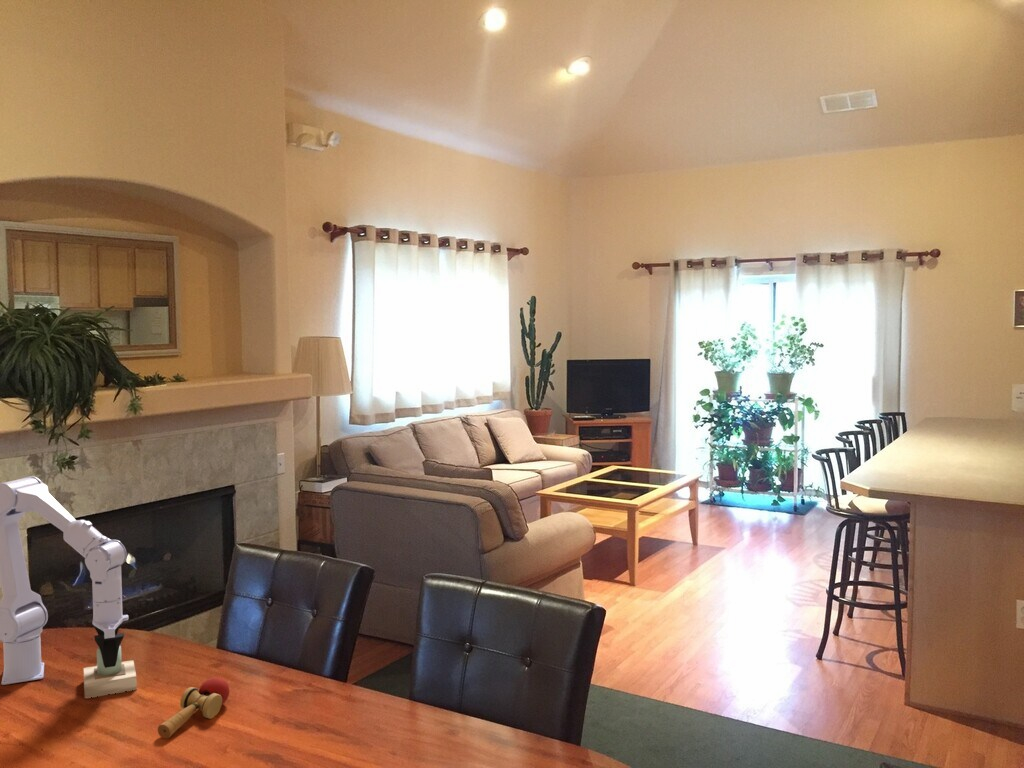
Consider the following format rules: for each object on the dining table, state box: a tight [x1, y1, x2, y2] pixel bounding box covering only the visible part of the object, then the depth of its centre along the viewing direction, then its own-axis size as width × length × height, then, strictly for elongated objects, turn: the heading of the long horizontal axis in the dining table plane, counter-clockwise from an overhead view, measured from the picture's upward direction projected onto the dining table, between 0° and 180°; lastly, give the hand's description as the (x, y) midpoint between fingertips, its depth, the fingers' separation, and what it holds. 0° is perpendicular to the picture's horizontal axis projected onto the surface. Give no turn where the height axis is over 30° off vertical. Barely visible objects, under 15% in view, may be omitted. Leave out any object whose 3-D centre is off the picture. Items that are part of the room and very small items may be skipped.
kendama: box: [157, 676, 230, 739], centre depth 174 cm, size 8×6×18 cm
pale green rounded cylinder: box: [96, 645, 123, 676], centre depth 189 cm, size 5×5×5 cm
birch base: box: [83, 659, 138, 699], centre depth 190 cm, size 10×10×3 cm
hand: (109, 660), depth 189 cm, fingers open, 7 cm apart
